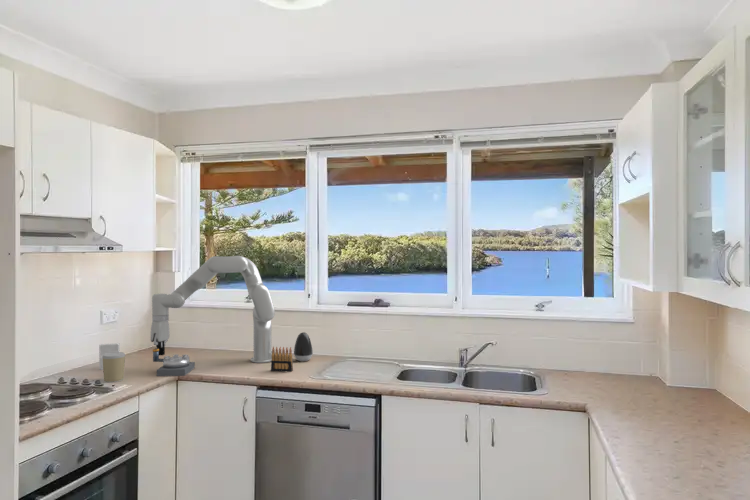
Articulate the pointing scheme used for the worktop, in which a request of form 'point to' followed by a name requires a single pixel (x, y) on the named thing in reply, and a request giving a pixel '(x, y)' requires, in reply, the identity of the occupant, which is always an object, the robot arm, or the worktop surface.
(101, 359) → the base with upright slab
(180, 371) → the grey rectangular base plate
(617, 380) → the worktop surface
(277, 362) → the ammunition clip
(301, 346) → the black egg shaped speaker
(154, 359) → the gold-rimmed tube plate
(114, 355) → the coffee cup
